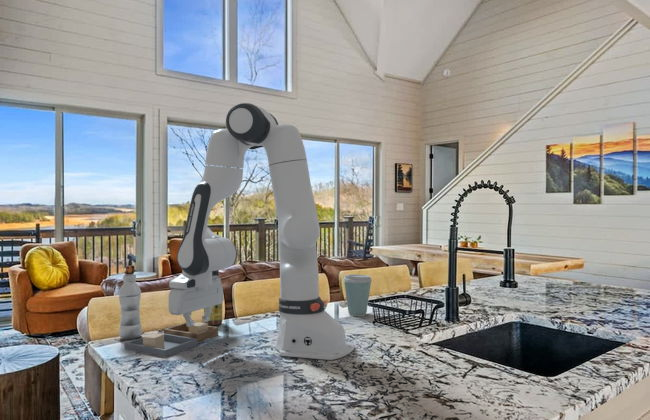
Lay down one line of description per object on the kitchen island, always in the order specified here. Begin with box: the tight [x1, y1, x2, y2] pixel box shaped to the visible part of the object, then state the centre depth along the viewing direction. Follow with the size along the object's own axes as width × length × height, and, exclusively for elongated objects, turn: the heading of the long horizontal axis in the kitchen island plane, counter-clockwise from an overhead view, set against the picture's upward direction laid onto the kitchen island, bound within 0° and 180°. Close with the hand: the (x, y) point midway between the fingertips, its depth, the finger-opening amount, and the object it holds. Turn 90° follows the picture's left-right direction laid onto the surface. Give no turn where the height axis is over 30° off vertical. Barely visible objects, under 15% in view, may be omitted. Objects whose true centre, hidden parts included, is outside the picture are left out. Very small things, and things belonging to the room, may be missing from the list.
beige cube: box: [142, 332, 164, 349], centre depth 129 cm, size 4×4×4 cm
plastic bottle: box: [118, 273, 143, 341], centre depth 142 cm, size 6×7×20 cm
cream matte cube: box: [189, 321, 209, 334], centre depth 141 cm, size 4×4×4 cm
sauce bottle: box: [203, 270, 223, 327], centre depth 160 cm, size 6×6×20 cm
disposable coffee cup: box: [343, 273, 372, 317], centre depth 171 cm, size 11×11×15 cm
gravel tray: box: [124, 332, 199, 358], centre depth 131 cm, size 16×12×2 cm
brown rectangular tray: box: [163, 322, 219, 343], centre depth 143 cm, size 14×9×3 cm, turn 61°
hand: (198, 323), depth 141 cm, fingers open, 5 cm apart
